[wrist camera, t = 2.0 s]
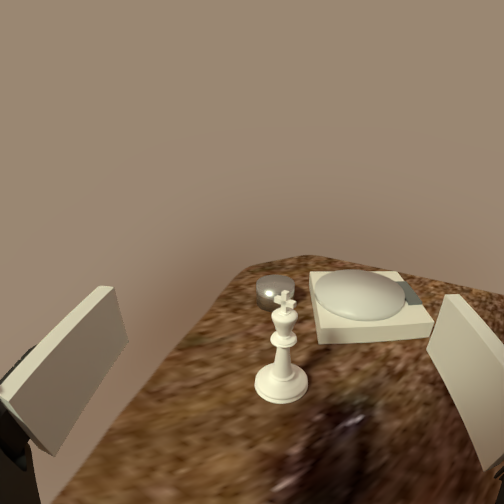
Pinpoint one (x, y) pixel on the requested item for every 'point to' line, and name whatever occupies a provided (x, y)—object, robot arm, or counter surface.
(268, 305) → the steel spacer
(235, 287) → the counter surface
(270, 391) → the chess piece
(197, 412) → the counter surface
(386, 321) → the scale
